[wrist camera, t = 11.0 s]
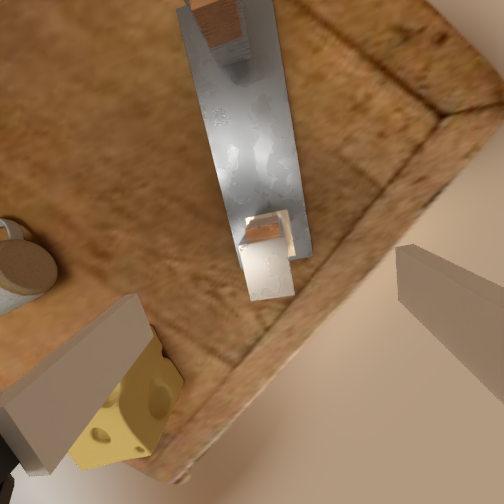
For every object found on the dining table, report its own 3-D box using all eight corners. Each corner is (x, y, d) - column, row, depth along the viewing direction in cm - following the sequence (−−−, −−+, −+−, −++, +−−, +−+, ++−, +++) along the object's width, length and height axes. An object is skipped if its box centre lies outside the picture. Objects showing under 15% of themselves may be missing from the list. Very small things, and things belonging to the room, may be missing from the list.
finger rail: (182, 20, 22) (86, -143, 11) (268, -11, 20) (260, -231, 9) (242, 264, 28) (221, 319, 17) (311, 252, 27) (336, 303, 16)
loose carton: (251, 214, 25) (236, 236, 15) (280, 208, 24) (283, 228, 15) (260, 256, 26) (250, 301, 16) (287, 251, 25) (294, 294, 16)
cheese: (152, 322, 32) (99, 383, 22) (189, 383, 34) (155, 462, 25) (91, 343, 34) (19, 408, 24) (130, 400, 36) (79, 478, 27)
